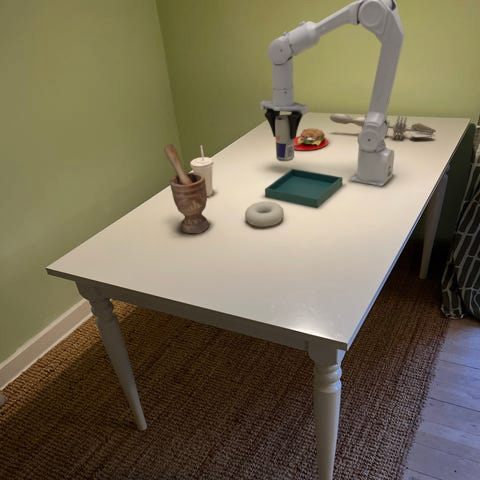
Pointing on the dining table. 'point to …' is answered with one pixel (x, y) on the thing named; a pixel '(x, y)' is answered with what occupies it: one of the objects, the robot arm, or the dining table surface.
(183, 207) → the mortar and pestle
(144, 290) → the dining table surface
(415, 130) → the cutlery set
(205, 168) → the smoothie
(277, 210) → the donut
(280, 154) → the energy drink
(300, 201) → the tray
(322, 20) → the robot arm
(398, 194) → the dining table surface
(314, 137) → the hamburger
